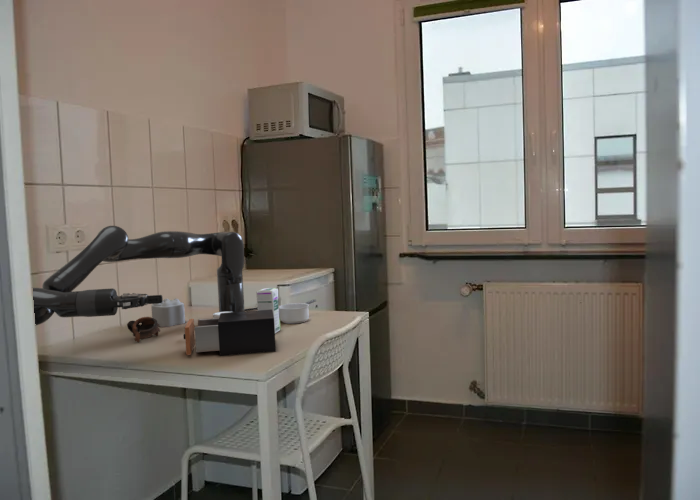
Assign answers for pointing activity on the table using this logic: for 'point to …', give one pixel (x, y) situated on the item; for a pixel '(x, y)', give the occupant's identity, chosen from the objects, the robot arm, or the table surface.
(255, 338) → the small drawer unit
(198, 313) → the table surface
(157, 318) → the lumpy-topped squat cylinder
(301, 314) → the saucepan
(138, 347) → the table surface
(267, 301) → the syrup box
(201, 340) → the orange pull-out drawer
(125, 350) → the table surface
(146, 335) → the brown hollow curved piece
